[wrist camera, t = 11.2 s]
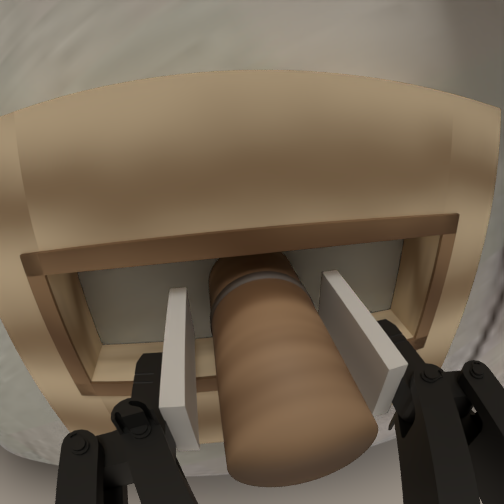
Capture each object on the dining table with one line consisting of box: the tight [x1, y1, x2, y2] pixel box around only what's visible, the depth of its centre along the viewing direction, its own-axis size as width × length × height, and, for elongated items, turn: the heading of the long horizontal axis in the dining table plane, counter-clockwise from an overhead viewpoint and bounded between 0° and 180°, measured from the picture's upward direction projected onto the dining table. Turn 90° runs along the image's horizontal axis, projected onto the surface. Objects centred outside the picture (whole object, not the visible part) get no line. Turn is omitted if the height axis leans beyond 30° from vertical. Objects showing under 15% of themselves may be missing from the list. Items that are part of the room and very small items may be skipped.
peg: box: [209, 252, 378, 487], centre depth 12 cm, size 4×4×10 cm
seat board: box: [0, 70, 501, 444], centre depth 15 cm, size 20×26×3 cm
